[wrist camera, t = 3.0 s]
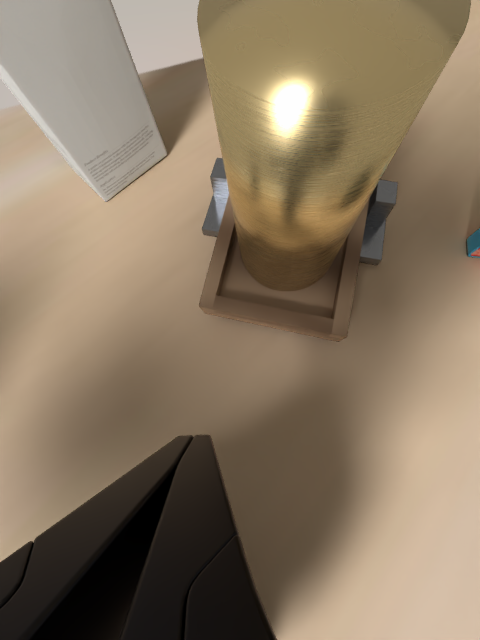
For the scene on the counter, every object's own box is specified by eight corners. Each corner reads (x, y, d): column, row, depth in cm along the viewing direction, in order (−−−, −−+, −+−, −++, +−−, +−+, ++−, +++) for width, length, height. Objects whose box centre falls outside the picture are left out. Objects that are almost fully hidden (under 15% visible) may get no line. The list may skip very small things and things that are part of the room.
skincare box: (134, 125, 30) (11, -157, 15) (172, 158, 28) (77, -126, 13) (68, 170, 28) (-138, -92, 14) (105, 208, 27) (-87, -48, 12)
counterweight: (354, 256, 20) (535, 6, 7) (275, 309, 20) (298, 159, 6) (296, 189, 22) (350, -124, 8) (223, 237, 22) (151, -6, 8)
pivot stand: (377, 264, 23) (398, 239, 20) (203, 234, 25) (194, 206, 21) (385, 187, 25) (405, 152, 22) (226, 165, 27) (221, 130, 24)
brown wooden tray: (338, 341, 20) (347, 336, 18) (205, 313, 22) (198, 305, 20) (380, 89, 25) (391, 61, 23) (267, 78, 26) (267, 51, 24)
